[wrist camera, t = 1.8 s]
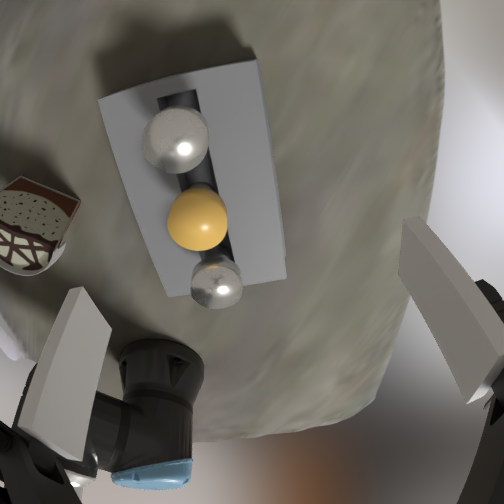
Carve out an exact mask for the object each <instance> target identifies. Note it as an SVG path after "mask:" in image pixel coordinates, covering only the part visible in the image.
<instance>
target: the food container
mask: <svg viewBox="0 0 504 504" xmlns="http://www.w3.org/2000/svg"><path fill="white" fill-rule="evenodd" d="M80 203H81V200H78V199H76V198H73V197H71V196H69V195H66V194H64V193H61V192H59V191H57V190H54V189H52V188H50V187H47V186H45V185H42V184H40V183H38V182H35V181H33V180H31V179H28V178H26V177H24V176H19V177H18V178H16V179H15V180H14V181H12V182H11V183H9V184H8V185H6V186H5V187H3V188H2V189H0V267H2V268H3V269H5V270H7V271H9V272H11V273H14V274H17V275H22V276H33V275H36V274H39V273H41V272H43V271H45V270H47V269H48V268H49V267H50V266H51V265H52V264H53V263H55V262H56V261H57V260H58V258H59V257H60V256H61V255H62V253H63V251H64V248H65V245H66V242H64V243H63V244H62V245H61V246H60V247H59V245H60V243H61V241H62V239H63V237H64V235H65V233H66V231H67V229H68V227H69V225H70V223H71V221H72V219H73V217H74V215H75V213H76V211H77V210H78V208H79V206H80Z"/></svg>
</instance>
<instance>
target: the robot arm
mask: <svg viewBox="0 0 504 504" xmlns="http://www.w3.org/2000/svg"><path fill="white" fill-rule="evenodd" d="M398 275H399V276H400V278H401V280H402V281H403V283H404V285H405V286H406V288H407V290H408V291H409V293H410V295H411V296H412V298H413V300H414V302H415V303H416V305H417V307H418V309H419V310H420V312H421V314H422V316H423V317H424V319H425V321H426V323H427V325H428V327H429V328H430V330H431V332H432V334H433V336H434V338H435V340H436V342H437V344H438V346H439V348H440V349H441V351H442V353H443V355H444V357H445V359H446V361H447V363H448V365H449V367H450V369H451V372H452V374H453V376H454V378H455V380H456V382H457V384H458V386H459V389H460V391H461V393H462V395H463V397H464V400H465V402H466V404H468V403H470V402H472V401H474V400H476V399H478V398H480V397H482V396H484V395H485V394H486V392H487V391H488V390H489V389H490V387H492V389H493V391H494V394H493V395H492V397H491V398H490V399H489V400H488V401H487V403H486V404H485V406H484V408H483V409H485V410H486V409H487V408H488V406H489V405H490V408H489V412H488V416H487V420H486V423H485V427H484V430H483V434H482V437H481V441H480V444H479V447H478V450H477V453H476V456H475V459H474V462H473V465H472V467H471V470H470V473H469V475H468V478H467V481H466V483H465V486H464V488H463V490H462V493H461V495H460V497H459V500H458V502H457V504H504V301H503V300H502V297H501V296H500V295H499V293H498V292H497V290H496V289H495V288H494V287H493V286H491V285H490V284H488V283H487V282H486V281H484V280H483V279H482V280H479V281H476V282H474V281H473V280H472V279H471V277H470V276H469V275H468V273H467V272H466V271H465V270H464V268H463V267H462V266H461V264H460V263H459V262H458V261H457V260H456V258H455V257H454V256H453V255H452V253H451V252H450V251H449V250H448V248H446V246H445V245H444V244H443V243H442V242H441V240H440V239H439V238H438V237H437V236H436V234H435V233H434V232H433V231H432V230H431V229H430V228H429V226H428V225H427V224H426V223H425V222H424V221H423V220H422V219H421V217H420V216H418V217H413V218H408V219H403V225H402V238H401V249H400V259H399V268H398ZM111 331H112V329H111V327H110V326H109V324H108V323H107V321H106V320H105V319H104V317H103V316H102V314H101V313H100V311H99V310H98V308H97V307H96V305H95V304H94V302H93V301H92V299H91V298H90V296H89V295H88V293H87V292H86V290H85V289H84V287H83V286H82V287H77V288H73V289H70V290H69V292H68V294H67V296H66V298H65V300H64V302H63V304H62V307H61V309H60V311H59V313H58V315H57V318H56V320H55V322H54V325H53V327H52V329H51V332H50V334H49V336H48V339H47V341H46V344H45V346H44V349H43V351H42V354H41V356H40V359H39V362H38V363H36V365H35V366H34V367H33V369H32V371H31V372H30V373H29V376H28V379H27V382H26V387H24V390H23V396H21V399H20V402H19V405H18V409H17V412H16V415H15V419H14V422H13V425H12V428H10V427H8V426H7V425H6V424H4V423H3V422H2V421H0V480H1V481H3V482H4V484H5V485H4V488H2V487H0V504H82V503H81V498H82V492H83V487H84V486H85V485H87V484H89V483H91V482H93V481H95V480H96V475H97V470H98V469H101V470H105V471H108V472H111V473H112V474H111V478H112V481H113V483H115V484H117V485H121V486H123V487H128V488H135V489H145V490H146V489H147V490H167V489H176V488H180V487H183V486H185V485H186V484H187V483H188V482H189V481H190V478H191V470H192V462H193V459H192V414H193V404H194V402H195V400H196V397H197V395H198V392H199V390H200V388H201V385H202V383H203V380H204V364H203V361H202V360H201V358H200V357H199V356H198V355H197V354H196V353H195V352H194V351H192V350H191V349H189V348H187V347H185V346H183V345H181V344H178V343H175V342H171V341H167V340H160V339H145V340H139V341H136V342H133V343H131V344H129V345H127V346H126V347H125V348H124V349H123V351H122V354H121V358H120V363H119V370H120V376H121V383H122V389H123V401H122V400H119V399H117V398H114V397H111V396H109V395H106V394H104V393H101V392H99V391H97V390H96V389H97V385H98V380H99V376H100V372H101V368H102V364H103V361H104V357H105V353H106V349H107V346H108V342H109V338H110V335H111Z"/></svg>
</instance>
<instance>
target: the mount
mask: <svg viewBox="0 0 504 504" xmlns="http://www.w3.org/2000/svg"><path fill="white" fill-rule="evenodd" d="M98 103H99V107H100V110H101V114H102V117H103V121H104V124H105V128H106V131H107V134H108V138H109V141H110V144H111V147H112V151H113V154H114V157H115V160H116V163H117V166H118V169H119V172H120V175H121V178H122V181H123V184H124V187H125V190H126V193H127V195H128V198H129V201H130V204H131V206H132V209H133V212H134V215H135V217H136V220H137V223H138V225H139V228H140V230H141V233H142V236H143V238H144V241H145V243H146V246H147V248H148V251H149V253H150V256H151V258H152V261H153V263H154V266H155V268H156V270H157V273H158V275H159V277H160V280H161V282H162V284H163V287H164V289H165V291H166V294H167V296H168V297H174V296H181V295H188V294H191V291H190V287H191V278H192V271H193V269H194V267H195V266H196V264H197V263H199V262H200V261H201V260H203V259H205V250H203V251H194V250H189V249H186V248H184V247H182V246H180V245H178V244H177V243H176V242H175V241H174V240H173V239H172V237H171V236H170V234H169V231H168V227H167V221H168V216H169V213H170V210H171V207H172V204H173V202H174V200H175V199H176V197H177V196H178V195H179V194H181V193H182V192H184V191H186V190H188V189H189V188H190V187H191V186H192V185H193V184H194V183H197V182H206V183H209V184H210V185H211V186H212V187H213V188H214V190H215V193H216V194H218V195H219V196H220V197H221V198H222V200H223V201H224V203H225V205H226V208H227V232H226V235H225V237H224V238H223V240H222V241H221V242H220V243H221V244H224V245H225V246H227V248H228V249H229V254H230V260H231V261H233V262H234V263H236V264H237V265H238V267H239V268H240V270H241V275H242V286H245V285H251V284H257V283H263V282H269V281H275V280H281V279H286V278H287V277H286V269H285V260H284V257H286V249H285V241H284V232H283V224H282V216H281V208H280V200H279V193H278V185H277V177H276V170H275V163H274V156H273V148H272V141H271V134H270V128H269V121H268V114H267V108H266V101H265V95H264V88H263V82H262V76H261V70H260V64H259V59H252V60H245V61H239V62H233V63H227V64H222V65H216V66H211V67H206V68H201V69H197V70H192V71H188V72H184V73H179V74H175V75H171V76H168V77H164V78H160V79H156V80H153V81H149V82H146V83H142V84H139V85H136V86H132V87H129V88H126V89H123V90H120V91H117V92H114V93H111V94H109V95H107V96H105V97H103V98H101V99H98ZM174 105H184V106H189V107H191V108H193V109H195V110H197V111H198V112H200V113H201V114H202V115H203V117H204V118H205V119H206V121H207V123H208V126H209V130H210V139H209V145H208V149H207V153H206V155H205V157H204V158H203V160H202V161H201V162H200V163H199V164H198V165H197V166H196V167H195V168H193V169H192V170H190V171H187V172H184V173H179V174H172V173H166V172H163V171H161V170H158V169H157V168H155V167H154V166H153V165H152V164H151V163H150V162H149V161H148V160H147V158H146V157H145V155H144V152H143V149H142V135H143V131H144V129H145V127H146V125H147V124H148V122H149V121H150V120H151V119H152V118H153V117H154V116H155V115H156V114H157V113H159V112H160V111H161V110H163V109H165V108H167V107H170V106H174Z"/></svg>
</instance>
